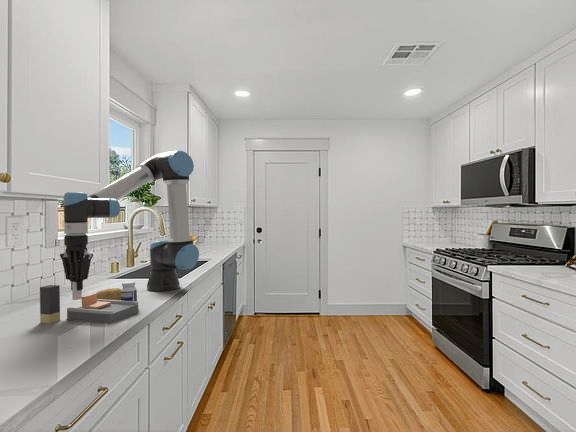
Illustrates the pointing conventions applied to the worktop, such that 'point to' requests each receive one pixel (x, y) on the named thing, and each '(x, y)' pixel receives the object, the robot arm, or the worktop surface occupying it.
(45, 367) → the worktop surface
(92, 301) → the shutter
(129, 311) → the grey slab
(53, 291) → the plug
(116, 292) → the potato
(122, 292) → the pill bottle
